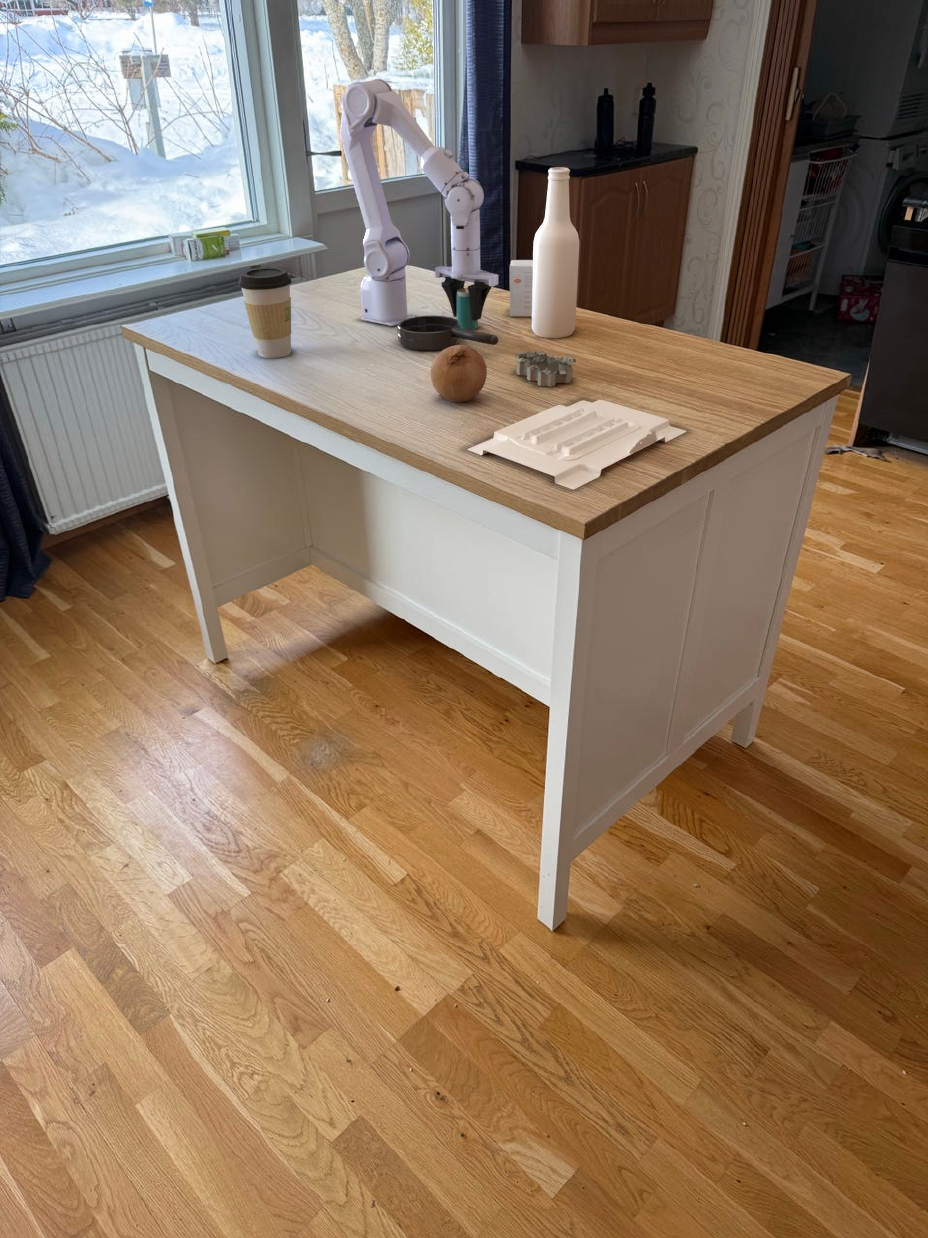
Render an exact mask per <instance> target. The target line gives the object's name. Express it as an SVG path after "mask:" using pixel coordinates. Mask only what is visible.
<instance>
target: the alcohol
mask: <svg viewBox="0 0 928 1238" xmlns="http://www.w3.org/2000/svg"><path fill="white" fill-rule="evenodd" d="M547 172H548V176H547V180H548V183H547V194H546V204H545V214H544V218H543V222H542V223H541V225H540V226H539V228H538V229H537V231H536V232H535V234H534V239H533V247H532V248H533V249H532V250H533V251H532V260H533V291H532V317H531V330H532V332H533V334H534V335H535V336H537V337H541V338H544V339H545V338H546V339H562V338H567V337H569V336H571V335H573V333H574V331H575V330H576V317H577V302H578V301H577V299H578V298H577V297H578V281H579V279H578V277H579V259H580V258H579V257H580V238H579V233H578V231H577V228H576V227H575V226H574V224H573V223H572V220H571V213H570V178H571V176H570V172H571V170H570V169H569V168H568V167H561V166H559V167H549V169H548V171H547Z"/></svg>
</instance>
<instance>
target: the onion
mask: <svg viewBox="0 0 928 1238" xmlns="http://www.w3.org/2000/svg"><path fill="white" fill-rule="evenodd" d="M487 370H488V369H487V364H486V362H485V359H484V358H483V356H482V354H481V353H480V352H479V351H478V350H476V349H475V348H473V347H471V346H470V345H469V346H468V345H464V344H456V345H454V346H451V347H448V348H446V349H443V350H441V351H440V352H439V354H437V356H436V357H435V358H434V360H433V361H432V363H431V368H430V381H431V384H432V387H433V388H434V390H435V392H436V393H437V396H438V397H439V398H440V399H442V400H443V399H444V400H448V401H451V402H455V403H463V402H469V401H471V400H472V399H474V398H475V397H477V396H478V395H479V393H480V392H481V391H482V389H483V388H484V386H485V384H486V381H487V375H488V372H487Z"/></svg>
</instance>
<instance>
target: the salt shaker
mask: <svg viewBox="0 0 928 1238" xmlns="http://www.w3.org/2000/svg"><path fill="white" fill-rule="evenodd" d="M456 315H457V317H456V320H458V321H459V322H460V328H461V329H466V330H471V331H475V330H476V329H478V328H479V320H476V321H474V320H473V319H472V307H471V299H470V294H469V291H468V287H464V288H461V289H458V290H457V294H456Z"/></svg>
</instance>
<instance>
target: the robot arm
mask: <svg viewBox="0 0 928 1238" xmlns="http://www.w3.org/2000/svg"><path fill="white" fill-rule="evenodd" d="M339 103H340V107H341V110H342V111H341V121H340V130H339V138H340V141H341V145H342V148H343V153H344V155H345V159H346V162H347V166H348V170H349V173H350V176H351V181H352V184H353V187H354V191H355V195H356V199H357V201H358V205H359V209H360V213H361V216H362V220H363V224H364V227H365V234H364V238H363V242H362V246H363V249H364V257H363V265H364V268H365V271H366V272H367V273H368V274H366V275H365V276H364V277H363V279H362V280H361V283H360V300H361V301H360V302H361V312H362V316H360V318H359V320H361V321H364V322H365V321H366V322H370V323H375V324H378V325H379V324H380V325H385V326H389V327H395V326H398V323H399V322H401V321H402V320H405V319H408V318H412V317H417V315H416V314H411V313H408V300H407V298H408V297H407V282H406V281H407V280H406V279H407V278H406V267H407V266H408V265H409V262H410V258H411V255H410V250H409V247H408V245H407V244H406V243H405V241H404V240H403V238H402V235H401V231H400V230H399V229H398V227H396V226H395V225H394V224H393V221H392V218H391V215H390V210H389V208H388V203H387V199H386V196H385V192H384V188H383V184H382V180H381V177H380V172H379V169H378V165H377V161H376V157H375V154H374V150H373V147H372V143H371V138H372V136H373V134H374V132H375V130H376V128H377V126H378V125H382V126H386V127H390V128H392V130H394V131H395V133H397V135H398V136H399V137H400V138H401V139H402V140H403V142H405V144H407V146H408V147H409V148H410V149H411V150H412V151H413V152H414V153H415V155H416V156H417V157H418V158H420V162H421V163H420V167H421V171H422V172H423V174H424V175H425V176H426V177H427V178H428V180H430V182H431V183H432V184H433V185H434V187H435V188H436V190H438V191H439V193H440V194H441V195H442V196H443V197H444V198H445V199H444V203H445V207H446V210H447V211H448V212H449V214H450V244H451V245H450V247H451V248H450V249H451V250H450V251H451V266H445V265H440V266H436V267H435V268H434V275H435V279H440V278H443V279H444V281H442V282H441V288H442V289H443V291H444V292H445V295H446V297H447V300H448V302H449V305H450V309H451V311H452V312H451V313H452V315H453V318H457V315H456V294H457V290H458V289H461V288H465V283H467V282H469V283H472V284H469V285H468V286H467V288H468V291H469V294H470V299H471V307H472V319H473V320H474V321H476V320H478V321H479V320H480V319H482V316H483V315H482V314H483V310H484V307H485V303H486V300H487V297H488V295H489V293H490V291H491V289H492V287H496V286H498V285H499V274H497V273H492V272H489V271H486V270H483V269H481V220H480V219H481V216H480V213H481V212H480V208H481V206H482V205H483V203H484V198H485V194H484V193H485V192H484V189H483V187H482V185H481V183H480V182H479V181H478V179H475V178H472V177H470V174H469V173H468V172H467V171H464V170H463V169H462V168H461V167H460V165H459V164H458V163H457V162H456V160H455V159H454V158H453V156H454V153H453V152H452V151H451V150H450V149H446V148H445V147H443V146H436V145H434V144H433V142H432V141H431V140H430V138H429V137H428V136H427V134H426V133H425V132H424V130H423V129H422V128H421V126H420V125H419V124H418V122H417V121H416V119H415V118H414V116H413V115H412V114H411V112H410V111H409V110H408V109H407V107H406V106H405V104H404V102H403V101H402V98H401V96H400V95H399V94H398V93H397V92H396V91H395V90H393V88H392V86H391V85H390V84H389V83H388V81H386V80H384V79H381V78H375V79H373V80H367V81H354V82H351V83H350V84H349V85H348V86H347V87H346V89H345V91H344V93H343V94H342V97H341V98H340V100H339Z"/></svg>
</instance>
